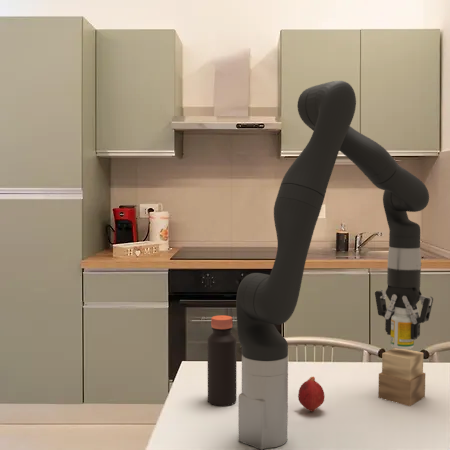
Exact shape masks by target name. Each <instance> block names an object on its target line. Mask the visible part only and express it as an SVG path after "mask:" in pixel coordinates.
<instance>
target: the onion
mask: <svg viewBox="0 0 450 450" xmlns="http://www.w3.org/2000/svg"><path fill="white" fill-rule="evenodd" d="M297 397H298V401H299V403H300V405H302V406H303V408H304V409H306V410H308V411H309V412H311V413H312V412H315V411H316V410H317V409H319V408H320V407H321V406H322V405H323V404H324V402H325V392H324V389H323V386H322V385H321V384H320V383H318V381H316V377H315V376H311V377H309V378H308V379H307V380H306V381H304V382H303V383H302V384H301V385H300V387H299V390H298V395H297Z"/></svg>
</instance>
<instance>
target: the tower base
mask: <svg viewBox="0 0 450 450" xmlns="http://www.w3.org/2000/svg"><path fill="white" fill-rule="evenodd" d="M377 395H378V398H379V399H381V398H382V400H385V399H386V401H390V402H392V401H393V403H396V402H397V404H401V405H404V406H408V407H412V406H413V405H415V404H416V403H417V402H419V401H422V400H423V399H424V398H425V397H426V372H423V374H421V375H419V376H417V377H415V378H414V379H412V380H410V381H409V380H405V379H401V378H397V377H393V376H389V375H385V374H382V371H381V372H380V373H378V394H377Z"/></svg>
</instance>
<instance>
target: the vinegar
mask: <svg viewBox="0 0 450 450" xmlns="http://www.w3.org/2000/svg"><path fill="white" fill-rule="evenodd" d="M210 319H211V321H210V322H211V325H210V326H211V331H212V333H211V334H210V335H209V336H208V338H207V401H208V403H210V405H212V406H217V407H226V406H231V405H234V404H235V403H236V402H237V338H236V336H235V335H234V334H233V333H232V330H233V316H230V315H213V316H212V317H211V318H210Z"/></svg>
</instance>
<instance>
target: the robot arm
mask: <svg viewBox="0 0 450 450" xmlns="http://www.w3.org/2000/svg"><path fill="white" fill-rule="evenodd" d="M356 107H357V96H356V93H355V90H354V88H353V86H352V85H351V84H350V83H349V82H346V81H344V80H334V81H333V80H332V81H329V82H325V83H320V84H317V85H316V84H315V85H313V86H310V87H307V88H306V89H304V90H303V91H302V92H301V94H300V95H299V97H298V101H297V112H298V115H299V118H300V119H301V121H302V122H303V124H305V125H306V126H307V127H308V128H309V129H311V130H312V131H313V132H312V135H311V137H310V138H309V141H308V142H307V143H306V145H305V147H304V148H303V150H301V151H302V152H300V154H299V155H298V156H297V157H296V159H295V160H294V161H293V163H292V164H291V165H290V167H289V168H288V169H287V171H286V173H285V174H284V176H283V178H282V180H281V183H280V186H279V189H278V192H277V196H276V198H275V202H274V205H273V221H274V227H275V232H276V239H277V249H276V254H275V255H276V256H275V259H274V262H273V265H272V269H271V271H270V274H267V273H261V272H252V273H250V274H247V275H246V276H244V277H243V278H242V280H241V282H240V283H239V284H238V285H239V286H238V288H237V292H236V299H235V300H236V301H235V302H236V303H235V305H236V306H235V307H236V308H235V309H236V310H235V311H236V331H237V339H238V341H239V344H240V347H241V393H239V394H238V441H239V442H241V443H243V444H245V445H249V446H251V447H254V448H256V449H259V450H265V449H269V448H276V447H280V446H282V445H284V444H285V443H286V442H287V441H288V424H289V423H288V422H289V421H288V418H289V416H288V412H289V410H288V409H289V408H288V407H289V406H288V404H289V403H288V402H289V401H288V399H289V395H288V394H289V393H288V392H289V391H288V390H289V387H288V386H289V377H288V376H289V343H288V341H287V339H286V338H285V337H284V336H283V335H282V334H281V333H280V332H279V331H278V328H277V327H276V326H278V325H283V324H285V323H286V322H287V321H288V320H290V318H291V317H292V316H293V314H294V312H295V309H296V306H297V304H298V300H299V296H300V291H301V287H302V282H303V281H302V280H303V278H304V277H303V276H304V272H305V271H304V270H305V266H306V261H307V257H308V254H309V249H310V247H311V242H312V238H313V236H314V230H315V228H316V224H317V221H318V219H319V217H320V214H321V211H322V207H323V204H324V201H325V200H324V199H325V196H326V193H327V188H328V185H329V184H330V183H329V182H330V179H331V176H332V173H333V170H334V167H335V165H336V164H335V163H336V162H337V158H338V155H339V153H340V152H341V154H343V155H344V156H345V157H346V158H347V159H349V160H350V162H352V163H353V164H354V165H355V166H356V167H357V168H358V169H359V170H360V171H361V173H363V174H364V176H365V177H366V178H367V179H368V180H369V181H370V182H371V183H372V185H374V186H375V187H376V188H377V189H379V190H382V191H383V195H382V204H383V209H384V213H385V218H386V221H387V225H388V229H389V234H388V235H389V237H388V239H389V241H388V252H387V272H386V273H387V274H386V278H387V279H386V280H387V281H386V284H387V287H386V289H385V290H383V289H380V290H376V291H375V292H374V295H375V303H376V310H377V314H378V316H380V317H382V318H384V319H385V327H384V328H385V329H384V330H385V333H386V334H387V335H388V336H391V317H392V316H393V315H394V314H395V311H394V309H395V307H400V308H406V309H407V312H408V314H409V315H410V317H411V320H412V323H413V324H411V339H413V340H414V341H415V340H417V339H418V337H420V335H421V324H423V323H425V322H428V321H429V320H430V316H431V312H432V307H433V303H434V298H433V297H432V296H426V295H424V294H422V292H421V274H422V273H421V272H422V254H421V226H420V225H419V223H417V222H414V221H412V220H410V219H409V215H408V213H417V212H422V211H423V210H425V208H426V207H427V206H428V204H429V200H430V193H429V190H428V187H427V186H426V185H425V183H423V181H422V179H420V178H419V177H417V176H415V174H413V173H411V172H410V171H408V170H407V169H405V168H403V167H402V166H400V164H399V163H398V162H397V161H396V159H394V157H393V156H392V155H391V154H390V153H389V152H388V151H387V149H385V148H384V147H383V146H382V145H381V144H379V143H378V142H376V141H375V140H374V139H371V138H370V137H368V136H366V135H365V134H363V133H361V132H359V131H358V130H356V129H355V128H353V127H352V126H351V124H352V122H353V119H354V116H355V112H356ZM407 212H408V213H407ZM386 299H388V300H389V304H388V306H387V304H386ZM419 302H420V304H421V305H422V307H421V311H420V308H419V306H418V303H419Z"/></svg>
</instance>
